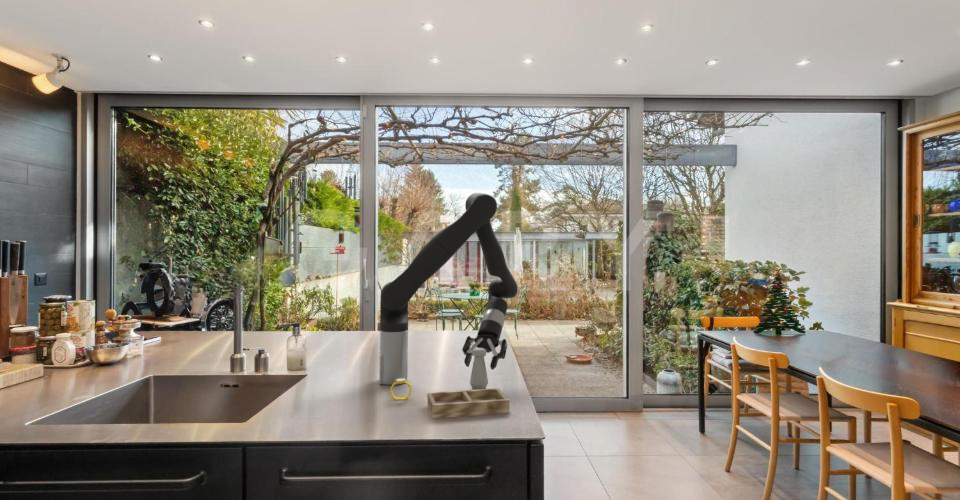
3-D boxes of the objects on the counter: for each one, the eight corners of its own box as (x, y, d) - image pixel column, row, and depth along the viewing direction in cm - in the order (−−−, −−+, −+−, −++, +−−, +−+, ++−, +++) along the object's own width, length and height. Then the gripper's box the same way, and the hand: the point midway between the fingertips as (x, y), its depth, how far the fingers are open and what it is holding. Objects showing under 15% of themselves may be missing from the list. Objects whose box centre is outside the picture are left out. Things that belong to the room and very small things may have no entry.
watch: (390, 402, 137) (389, 381, 137) (391, 399, 140) (390, 379, 139) (411, 400, 138) (410, 379, 137) (411, 397, 140) (410, 377, 140)
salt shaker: (486, 392, 146) (486, 350, 146) (468, 391, 147) (468, 349, 147) (489, 387, 152) (490, 347, 152) (472, 386, 153) (472, 346, 153)
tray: (433, 418, 123) (433, 405, 123) (427, 404, 134) (427, 392, 134) (509, 413, 128) (509, 400, 128) (498, 400, 139) (498, 388, 139)
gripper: (469, 317, 160) (455, 358, 149) (509, 320, 155) (497, 362, 144) (475, 330, 165) (461, 370, 154) (513, 333, 160) (503, 375, 149)
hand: (479, 366), depth 149 cm, fingers open, 8 cm apart
